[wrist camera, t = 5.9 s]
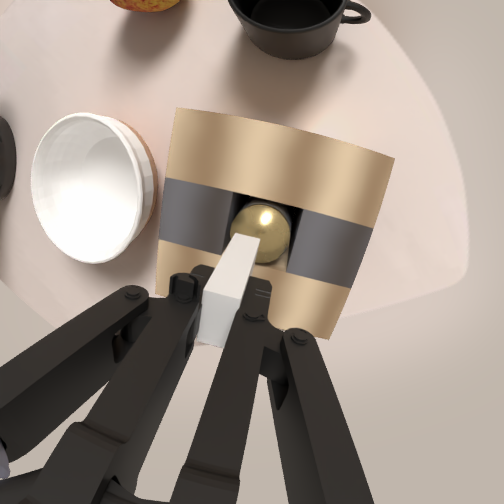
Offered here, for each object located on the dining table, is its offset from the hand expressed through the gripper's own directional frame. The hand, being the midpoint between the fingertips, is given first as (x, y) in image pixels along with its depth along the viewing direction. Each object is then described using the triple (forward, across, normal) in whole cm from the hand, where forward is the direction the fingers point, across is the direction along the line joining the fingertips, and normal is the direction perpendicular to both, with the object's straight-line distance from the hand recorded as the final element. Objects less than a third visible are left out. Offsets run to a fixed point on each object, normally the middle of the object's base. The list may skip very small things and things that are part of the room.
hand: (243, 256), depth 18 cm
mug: (+15, 0, +20) cm, 25 cm away
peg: (+13, +1, 0) cm, 13 cm away
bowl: (+16, -18, -1) cm, 24 cm away
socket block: (+15, +1, 0) cm, 15 cm away
